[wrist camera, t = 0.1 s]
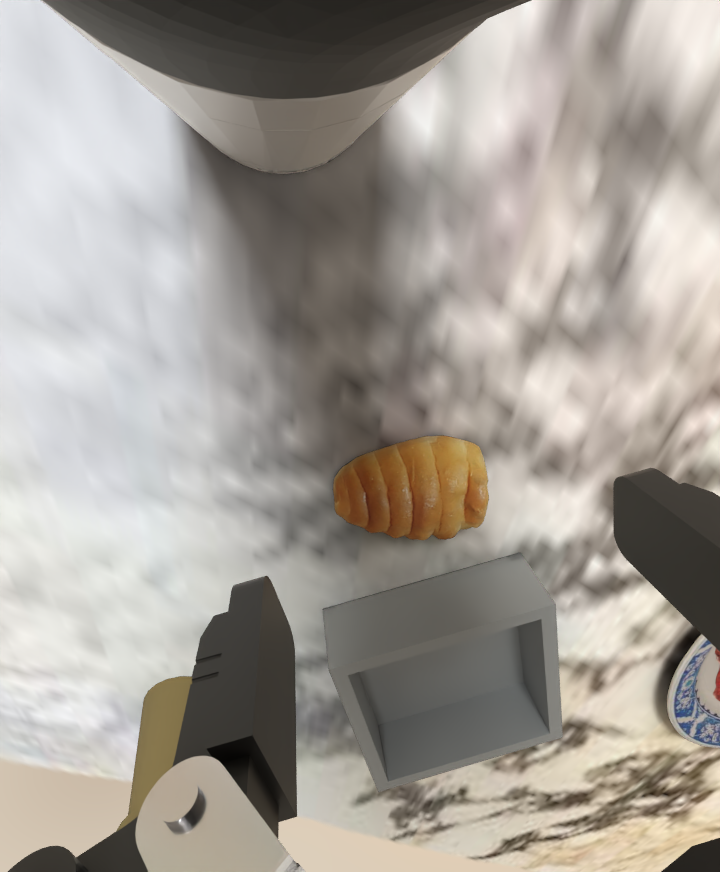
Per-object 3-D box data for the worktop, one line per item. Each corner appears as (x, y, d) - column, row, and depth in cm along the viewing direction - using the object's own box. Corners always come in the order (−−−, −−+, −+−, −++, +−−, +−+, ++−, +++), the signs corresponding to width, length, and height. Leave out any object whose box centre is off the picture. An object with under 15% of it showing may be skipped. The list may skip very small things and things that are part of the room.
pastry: (334, 528, 31) (340, 567, 28) (328, 438, 29) (334, 469, 25) (469, 513, 33) (491, 549, 29) (477, 425, 30) (502, 453, 26)
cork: (241, 702, 37) (226, 880, 27) (182, 738, 38) (147, 922, 28) (187, 664, 35) (150, 845, 25) (125, 703, 35) (64, 893, 26)
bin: (322, 609, 34) (328, 669, 30) (520, 552, 34) (555, 603, 30) (368, 728, 41) (378, 792, 37) (532, 679, 41) (562, 737, 37)
